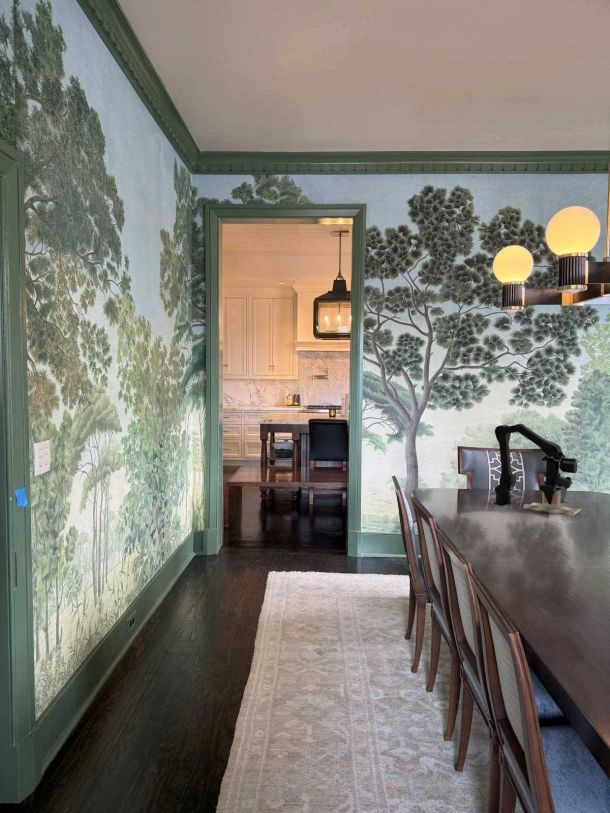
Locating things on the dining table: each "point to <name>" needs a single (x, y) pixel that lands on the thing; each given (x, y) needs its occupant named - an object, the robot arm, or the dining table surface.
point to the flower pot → (563, 493)
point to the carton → (553, 500)
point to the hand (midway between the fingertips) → (551, 503)
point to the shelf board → (551, 509)
